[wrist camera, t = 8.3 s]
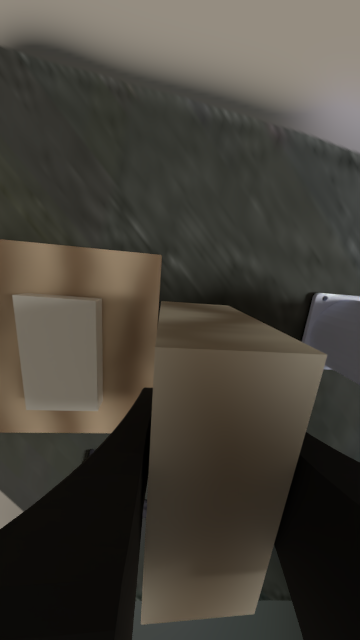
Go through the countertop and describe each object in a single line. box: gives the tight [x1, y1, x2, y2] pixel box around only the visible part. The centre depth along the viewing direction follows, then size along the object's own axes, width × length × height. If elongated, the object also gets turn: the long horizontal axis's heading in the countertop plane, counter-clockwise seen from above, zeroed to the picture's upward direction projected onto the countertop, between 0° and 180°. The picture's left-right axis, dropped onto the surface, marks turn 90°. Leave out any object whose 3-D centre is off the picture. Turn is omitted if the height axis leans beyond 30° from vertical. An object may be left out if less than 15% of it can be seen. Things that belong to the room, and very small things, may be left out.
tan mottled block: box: [141, 301, 327, 625], centre depth 9 cm, size 4×10×7 cm, turn 176°
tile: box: [12, 293, 103, 411], centre depth 16 cm, size 2×10×6 cm
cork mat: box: [0, 239, 162, 433], centre depth 17 cm, size 16×18×1 cm
